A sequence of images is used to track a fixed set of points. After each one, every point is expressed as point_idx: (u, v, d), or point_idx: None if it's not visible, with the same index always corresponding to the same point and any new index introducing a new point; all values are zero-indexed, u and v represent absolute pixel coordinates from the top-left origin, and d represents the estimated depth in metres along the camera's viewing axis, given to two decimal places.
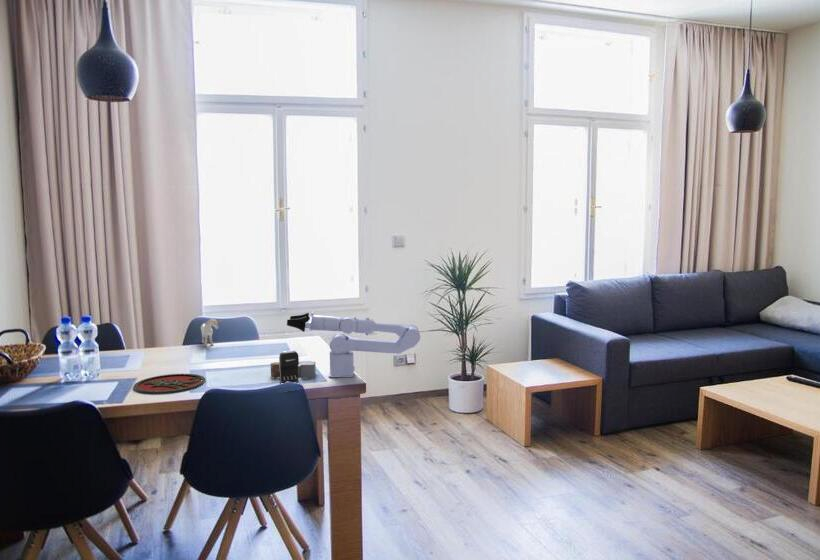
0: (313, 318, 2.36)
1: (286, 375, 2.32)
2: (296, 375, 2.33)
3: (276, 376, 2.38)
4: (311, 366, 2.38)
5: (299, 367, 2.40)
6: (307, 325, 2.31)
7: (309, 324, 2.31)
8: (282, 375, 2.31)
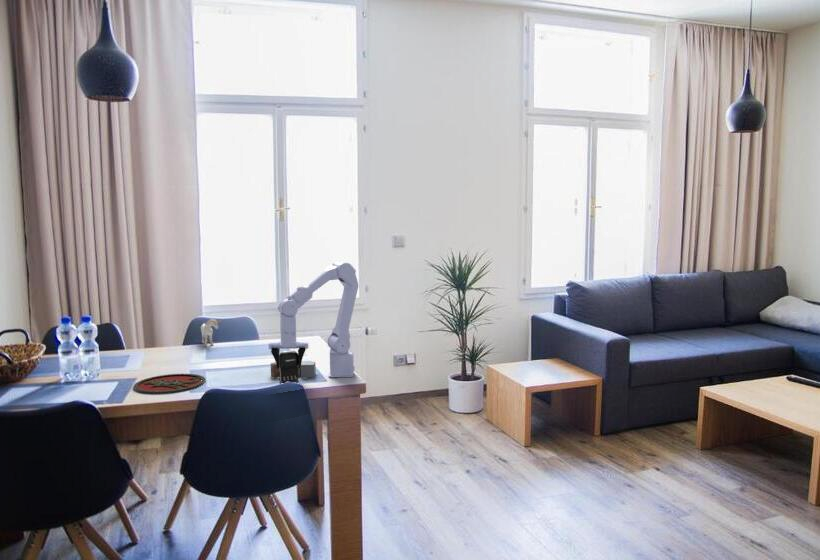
0: None
1: (286, 375, 2.32)
2: (296, 375, 2.33)
3: (276, 376, 2.38)
4: (311, 366, 2.38)
5: None
6: None
7: (269, 344, 2.31)
8: (282, 375, 2.31)
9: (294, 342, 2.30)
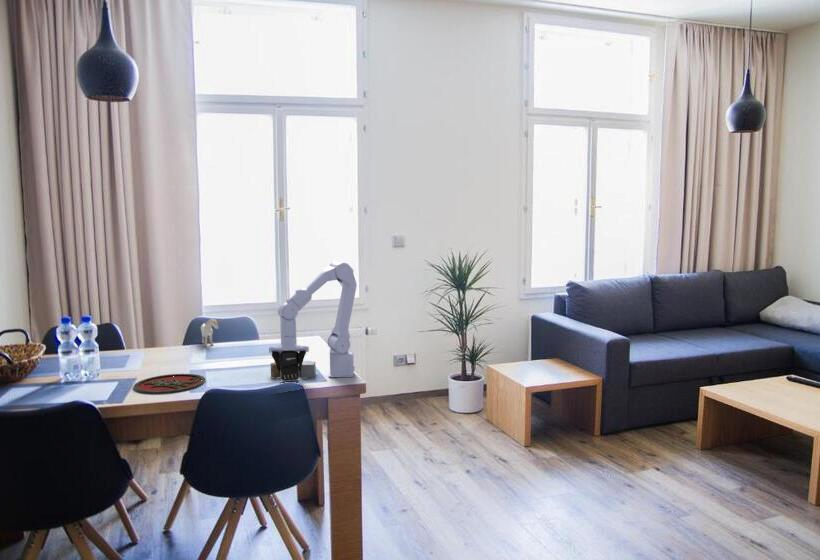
0: None
1: (286, 374, 2.32)
2: (296, 374, 2.33)
3: (276, 376, 2.38)
4: (311, 366, 2.38)
5: (298, 367, 2.40)
6: None
7: None
8: (282, 374, 2.31)
9: (294, 345, 2.30)
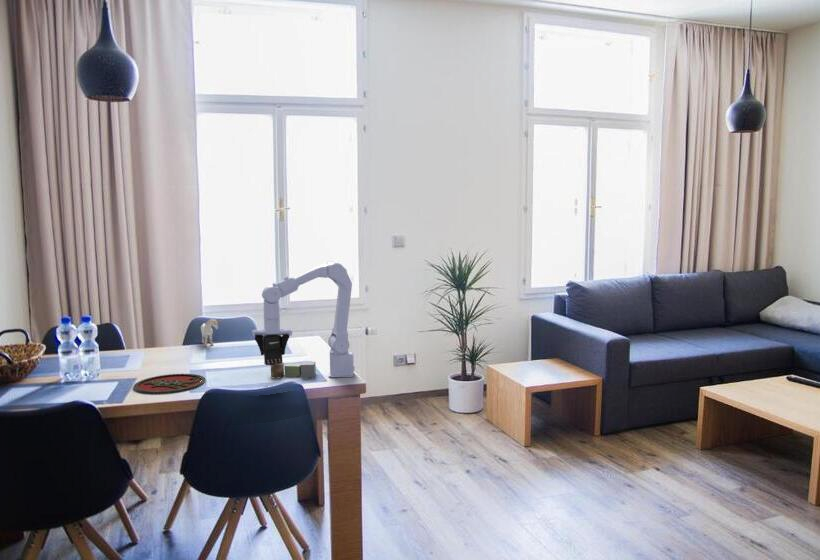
0: None
1: (270, 358, 2.31)
2: (280, 358, 2.32)
3: (276, 376, 2.38)
4: (311, 366, 2.38)
5: (298, 367, 2.40)
6: None
7: (252, 331, 2.30)
8: (266, 358, 2.30)
9: (278, 329, 2.29)
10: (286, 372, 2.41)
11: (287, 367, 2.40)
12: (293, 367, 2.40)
